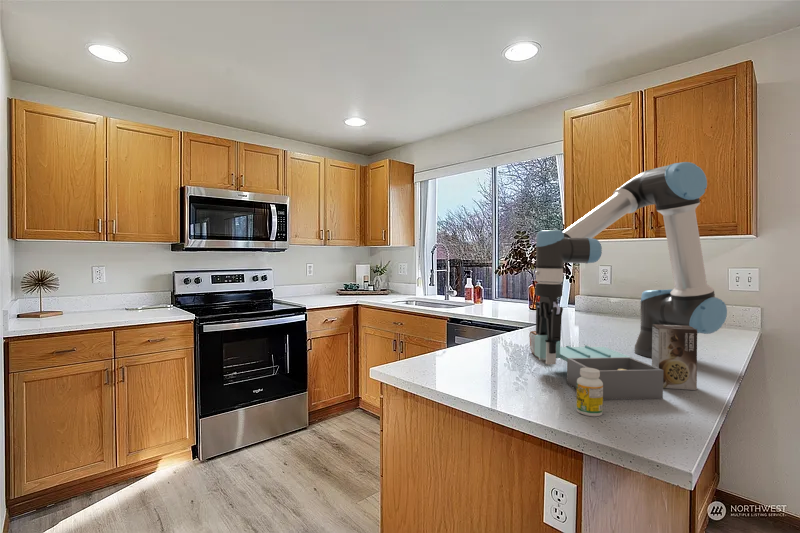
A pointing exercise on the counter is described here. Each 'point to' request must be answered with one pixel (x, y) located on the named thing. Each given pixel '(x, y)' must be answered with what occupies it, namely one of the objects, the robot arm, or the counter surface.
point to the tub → (620, 377)
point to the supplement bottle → (589, 392)
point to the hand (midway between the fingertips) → (547, 361)
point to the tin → (532, 341)
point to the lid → (573, 350)
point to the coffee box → (675, 355)
